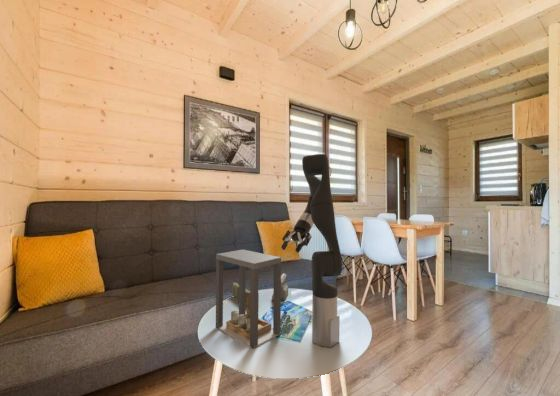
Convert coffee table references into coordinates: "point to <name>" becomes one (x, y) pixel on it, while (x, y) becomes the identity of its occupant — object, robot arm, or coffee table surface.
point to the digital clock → (283, 287)
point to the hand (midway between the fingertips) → (289, 250)
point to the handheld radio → (236, 291)
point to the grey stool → (252, 262)
